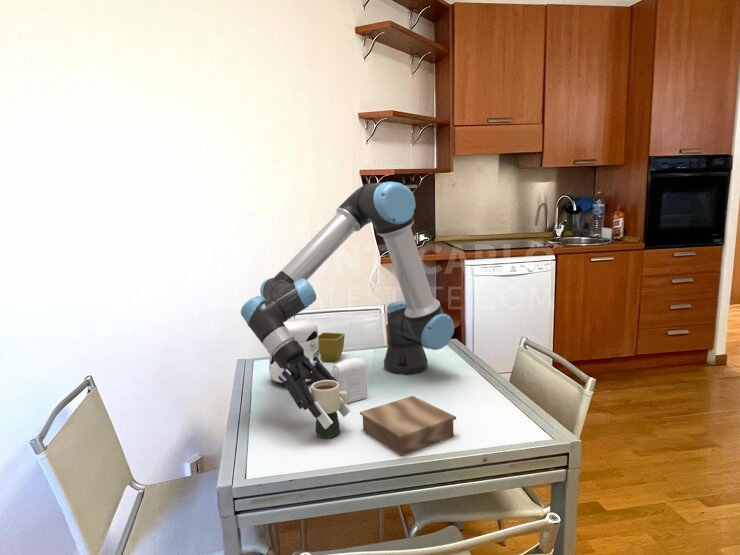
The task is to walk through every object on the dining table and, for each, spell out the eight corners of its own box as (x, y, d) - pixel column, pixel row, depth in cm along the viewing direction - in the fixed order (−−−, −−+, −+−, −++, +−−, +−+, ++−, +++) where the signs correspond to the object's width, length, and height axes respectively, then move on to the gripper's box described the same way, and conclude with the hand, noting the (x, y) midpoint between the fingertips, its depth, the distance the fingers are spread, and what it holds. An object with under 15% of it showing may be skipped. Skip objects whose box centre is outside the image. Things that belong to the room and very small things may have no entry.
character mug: (351, 427, 134) (349, 379, 132) (347, 440, 127) (345, 390, 125) (309, 427, 135) (306, 379, 133) (303, 440, 128) (300, 390, 126)
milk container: (334, 377, 171) (331, 324, 168) (292, 393, 159) (288, 336, 156) (300, 367, 183) (297, 317, 180) (259, 381, 170) (255, 327, 168)
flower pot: (346, 356, 193) (345, 333, 191) (338, 364, 185) (336, 339, 183) (324, 355, 195) (322, 332, 194) (315, 362, 187) (313, 338, 186)
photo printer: (361, 393, 156) (360, 354, 154) (369, 398, 153) (368, 357, 151) (332, 402, 151) (330, 361, 149) (339, 406, 147) (337, 365, 145)
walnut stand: (413, 413, 141) (412, 395, 140) (456, 436, 127) (456, 416, 126) (360, 430, 132) (359, 412, 131) (400, 457, 118) (400, 436, 117)
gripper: (301, 346, 144) (352, 412, 139) (249, 368, 128) (305, 444, 122) (315, 330, 141) (368, 397, 135) (264, 350, 124) (322, 427, 118)
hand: (338, 419), depth 128 cm, fingers closed on character mug, 7 cm apart
